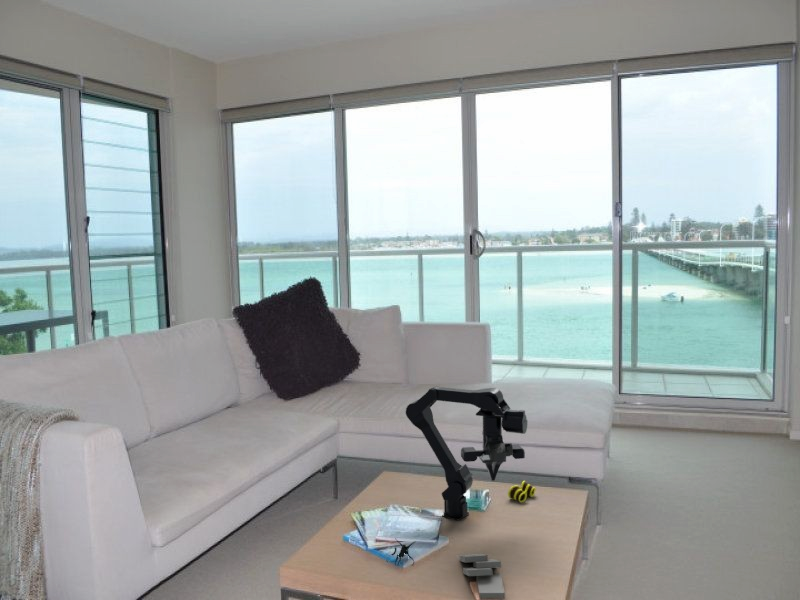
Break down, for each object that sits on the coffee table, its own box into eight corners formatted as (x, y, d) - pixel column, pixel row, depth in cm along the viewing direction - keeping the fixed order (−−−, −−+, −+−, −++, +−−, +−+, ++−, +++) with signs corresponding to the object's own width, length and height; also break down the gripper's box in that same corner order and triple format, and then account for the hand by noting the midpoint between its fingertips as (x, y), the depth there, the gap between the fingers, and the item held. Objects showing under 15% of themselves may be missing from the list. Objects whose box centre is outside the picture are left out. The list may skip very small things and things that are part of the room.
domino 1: (459, 555, 177) (464, 556, 169) (480, 553, 178) (487, 555, 169) (459, 560, 177) (465, 562, 168) (481, 559, 177) (488, 561, 169)
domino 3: (472, 560, 174) (477, 562, 166) (495, 559, 174) (500, 561, 166) (473, 566, 174) (477, 568, 165) (495, 565, 174) (501, 567, 165)
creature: (411, 573, 173) (420, 554, 180) (409, 556, 171) (418, 537, 179) (383, 569, 176) (393, 549, 183) (381, 552, 174) (391, 533, 181)
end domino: (469, 582, 164) (477, 601, 155) (493, 580, 165) (502, 599, 156) (469, 587, 164) (477, 606, 155) (493, 585, 165) (502, 604, 156)
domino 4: (476, 574, 165) (479, 593, 156) (500, 574, 165) (504, 592, 156) (476, 579, 165) (479, 598, 156) (500, 579, 165) (504, 598, 156)
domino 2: (462, 567, 170) (468, 570, 162) (485, 566, 171) (492, 568, 162) (463, 573, 170) (468, 576, 161) (486, 572, 170) (492, 574, 162)
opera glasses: (519, 506, 215) (522, 492, 214) (506, 499, 218) (508, 486, 217) (535, 497, 222) (538, 484, 221) (522, 491, 225) (524, 478, 224)
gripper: (467, 439, 190) (468, 491, 192) (530, 436, 192) (530, 487, 193) (460, 429, 201) (460, 478, 203) (519, 426, 203) (519, 475, 204)
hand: (492, 480), depth 200 cm, fingers closed
